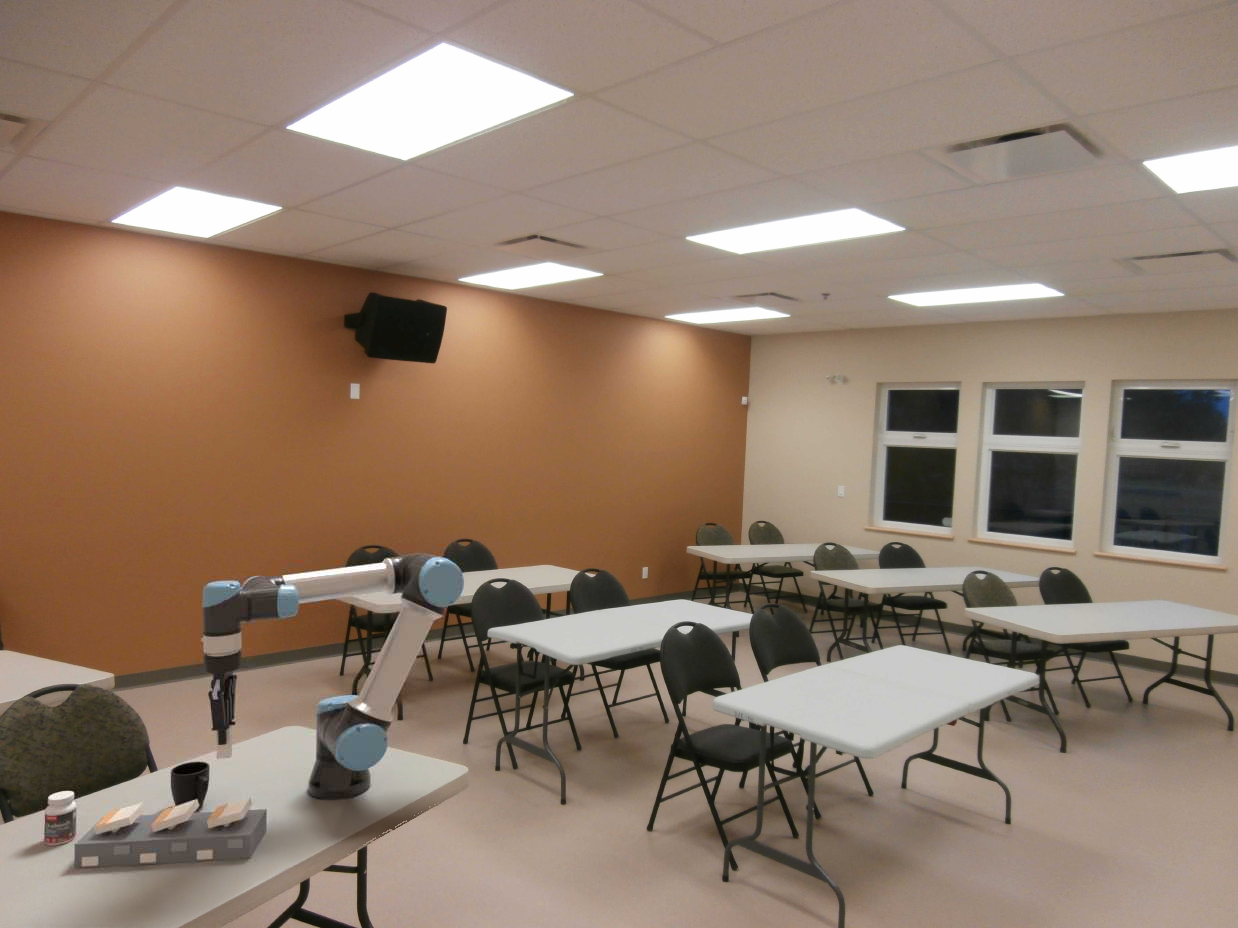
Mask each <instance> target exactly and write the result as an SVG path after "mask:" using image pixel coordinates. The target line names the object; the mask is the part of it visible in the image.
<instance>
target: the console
mask: <svg viewBox="0 0 1238 928" xmlns="http://www.w3.org/2000/svg"><path fill="white" fill-rule="evenodd" d="M267 811H268V810H267V808H264V809H249V810H248V812H247V813H246V815H245V816H244V818H243V819H241V820H237V821H233V822H231V823H230V824H229V826H227V827H224V826H223V825H219V826H215V827H212V828H208V824H207V820H208V819H209V817H210V816H211V815H212V814H213V812H214V811H205V812H204V811H199V812H194V813H193V814H192V816H191V817H190V818H189V819H188V820H187V821H185V822H182V823H179V824H177V825H176V826H175V827H174V829H172V830H169V829H168V827H167V828H165V829H162V830H159V831H156V832H153V830H152V827H151V825H152V823H153V822H154V821H155V820H156V819H157V818H158V817H159V816H160V814H161V813H160V814H159V813H158V814H145V815H144V814H143V815H142V814H141V815H140V816H139V817H138V818H137V819H136V820H135V821H134V822H133V823H132V824H131V825H127V826H124V827H121V828H120V829H119V830H118V831H117V832H115V833H112V832H111V830H110V831H107V832H103V833H100V834H96V833H95V830H94V827H95V826H96V825H97V824H98V823H99V822H100V821H101V820H102V819H103V818H104V817H105V816H103V817H102V818H100V820H99V821H97V823H96V824H94V825H93V826H92V827H91V828H90V829H89V830H88V831H87V832H86V833H85V834H84V835H83V836H82V837H81V838H80V839H79V840H78V841H77V842H75V844H74V865H73V866H74V869H75V870H76V869H87V868H109V867H121V866H122V867H125V866H139V865H140V866H141V865H154V864H155V865H156V864H157V865H158V864H173V863H176V864H177V863H189V862H190V863H192V862H206V861H208V862H210V861H225V860H226V861H227V860H239V859H242V860H243V859H251V858H252V856H253V854H254V853H255V851H256V849H257V848H258V846H259V844H260V843H261V841H262V839H263V837H264V836H265V834H266V832H267V822H268V821H267V818H268V817H267V814H268V813H267Z"/></svg>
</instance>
